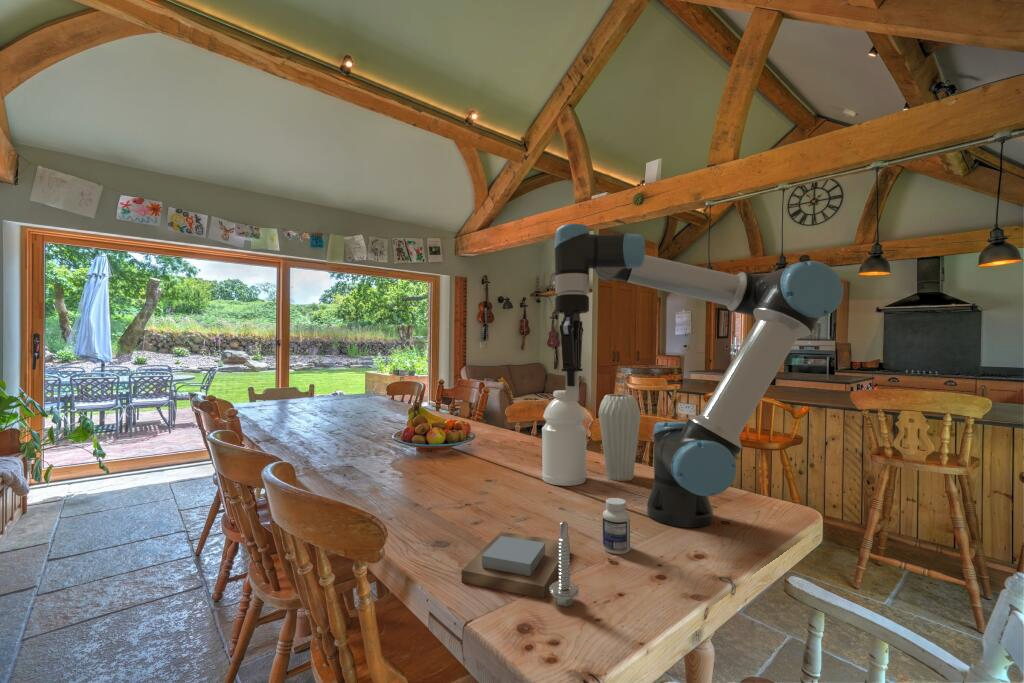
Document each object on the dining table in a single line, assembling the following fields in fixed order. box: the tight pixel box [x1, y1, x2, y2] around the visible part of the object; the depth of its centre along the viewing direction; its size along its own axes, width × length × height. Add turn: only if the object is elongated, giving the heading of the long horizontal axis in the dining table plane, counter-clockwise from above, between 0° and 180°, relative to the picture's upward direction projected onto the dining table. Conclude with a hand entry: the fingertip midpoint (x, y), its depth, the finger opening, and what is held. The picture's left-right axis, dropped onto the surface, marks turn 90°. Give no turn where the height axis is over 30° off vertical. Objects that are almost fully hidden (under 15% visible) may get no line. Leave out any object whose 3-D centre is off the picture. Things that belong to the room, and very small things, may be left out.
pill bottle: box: [602, 497, 631, 555], centre depth 91 cm, size 5×5×10 cm
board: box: [461, 531, 571, 600], centre depth 83 cm, size 15×18×2 cm
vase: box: [598, 393, 642, 482], centre depth 143 cm, size 13×13×26 cm
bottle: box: [541, 389, 587, 487], centre depth 140 cm, size 14×14×28 cm
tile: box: [482, 536, 545, 576], centre depth 81 cm, size 9×2×9 cm
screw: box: [548, 520, 580, 608], centre depth 71 cm, size 13×5×5 cm
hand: (572, 400), depth 99 cm, fingers closed
